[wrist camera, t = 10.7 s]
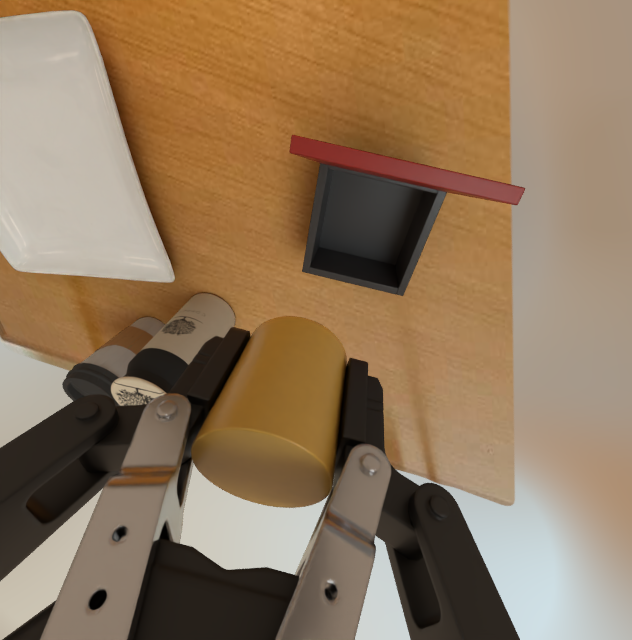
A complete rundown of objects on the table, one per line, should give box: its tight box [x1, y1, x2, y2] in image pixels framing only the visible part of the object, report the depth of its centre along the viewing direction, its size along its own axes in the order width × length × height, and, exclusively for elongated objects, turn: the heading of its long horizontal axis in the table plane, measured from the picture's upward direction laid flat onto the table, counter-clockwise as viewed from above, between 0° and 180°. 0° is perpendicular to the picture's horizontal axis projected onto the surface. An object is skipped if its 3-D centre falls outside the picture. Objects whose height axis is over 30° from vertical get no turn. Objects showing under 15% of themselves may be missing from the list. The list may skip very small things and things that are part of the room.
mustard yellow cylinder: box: [191, 316, 347, 508], centre depth 11 cm, size 4×4×5 cm
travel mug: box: [111, 293, 235, 406], centre depth 41 cm, size 8×8×18 cm
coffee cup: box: [63, 317, 165, 406], centre depth 46 cm, size 8×8×15 cm
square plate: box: [0, 10, 175, 283], centre depth 37 cm, size 27×27×4 cm
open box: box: [302, 163, 447, 296], centre depth 32 cm, size 12×12×7 cm
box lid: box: [289, 135, 525, 205], centre depth 20 cm, size 13×12×1 cm
